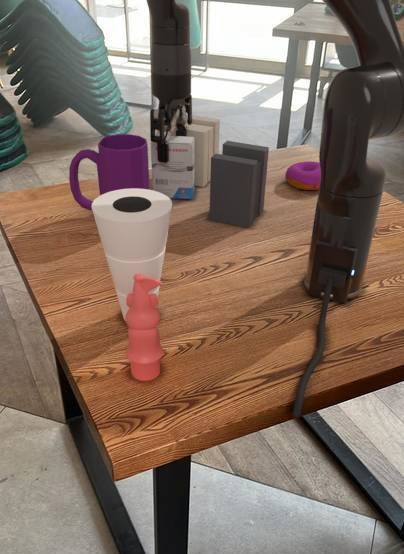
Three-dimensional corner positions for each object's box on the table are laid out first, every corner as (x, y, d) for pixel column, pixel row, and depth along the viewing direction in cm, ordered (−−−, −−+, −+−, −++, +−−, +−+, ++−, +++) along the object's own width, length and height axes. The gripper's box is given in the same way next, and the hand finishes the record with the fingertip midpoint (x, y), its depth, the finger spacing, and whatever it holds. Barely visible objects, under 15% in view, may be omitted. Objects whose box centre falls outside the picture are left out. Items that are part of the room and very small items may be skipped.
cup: (188, 317, 87) (188, 205, 76) (134, 346, 81) (125, 230, 70) (143, 289, 93) (137, 182, 82) (89, 315, 87) (75, 203, 76)
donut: (314, 173, 133) (317, 154, 130) (340, 189, 126) (343, 169, 123) (276, 180, 130) (278, 160, 127) (300, 197, 123) (303, 176, 120)
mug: (146, 230, 109) (142, 151, 100) (67, 225, 111) (56, 146, 101) (155, 210, 116) (152, 134, 107) (80, 205, 118) (71, 130, 108)
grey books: (249, 228, 111) (254, 161, 103) (208, 219, 114) (210, 154, 105) (263, 211, 117) (269, 147, 109) (224, 203, 120) (227, 140, 111)
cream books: (203, 187, 126) (204, 130, 118) (167, 180, 129) (166, 124, 121) (217, 174, 132) (219, 119, 124) (183, 168, 135) (183, 113, 127)
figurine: (165, 358, 79) (162, 263, 70) (165, 383, 75) (162, 285, 66) (128, 358, 79) (120, 263, 70) (126, 383, 75) (117, 285, 66)
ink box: (195, 190, 124) (195, 135, 117) (192, 200, 121) (192, 143, 113) (156, 188, 125) (154, 133, 118) (152, 198, 121) (150, 141, 114)
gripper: (172, 79, 101) (174, 169, 111) (204, 63, 111) (203, 147, 121) (135, 74, 103) (140, 163, 113) (169, 59, 113) (171, 142, 124)
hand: (172, 155), depth 117 cm, fingers open, 8 cm apart
